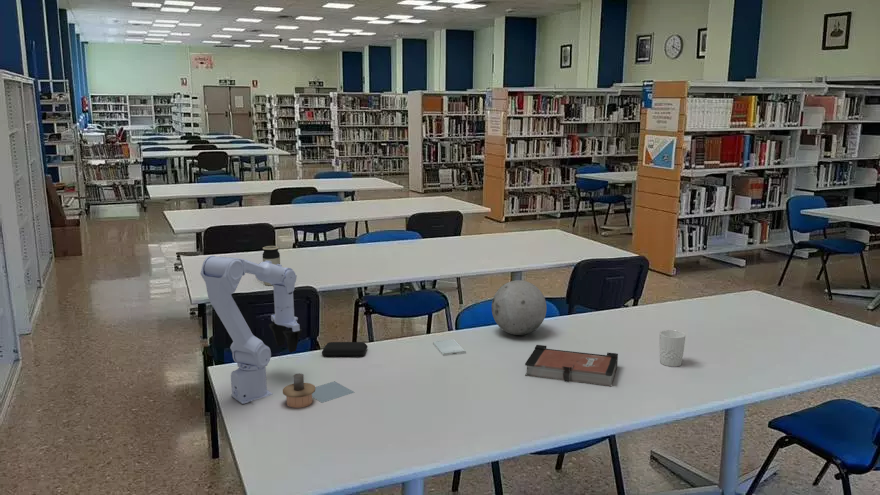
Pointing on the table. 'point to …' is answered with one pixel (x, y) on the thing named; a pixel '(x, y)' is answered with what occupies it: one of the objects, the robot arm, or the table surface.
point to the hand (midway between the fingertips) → (286, 348)
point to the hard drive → (449, 347)
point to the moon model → (518, 307)
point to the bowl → (299, 401)
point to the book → (572, 366)
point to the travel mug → (271, 256)
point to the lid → (298, 387)
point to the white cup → (671, 347)
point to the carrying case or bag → (344, 349)
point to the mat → (330, 391)
